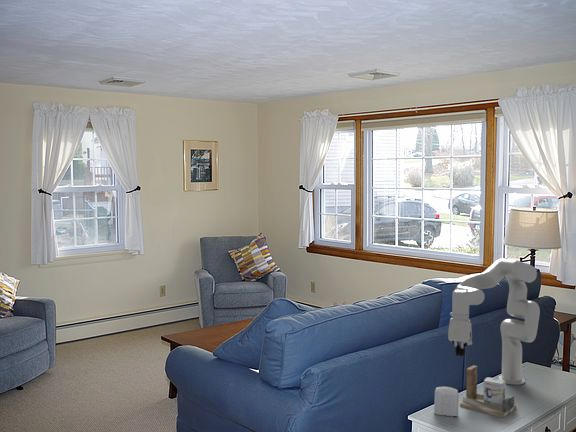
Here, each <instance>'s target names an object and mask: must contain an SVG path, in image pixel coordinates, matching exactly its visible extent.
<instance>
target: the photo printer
mask: <svg viewBox="0 0 576 432" xmlns="http://www.w3.org/2000/svg"><path fill="white" fill-rule="evenodd" d="M459 398H460V396H459V391H458V389H456V388H454V387H450V386H438V387H435V390H434V401H433V402H434V404H433V406H434V408H433V409H434V412H433V413H434V414H435V415H438V416H445V415H446V416H447V417H453V416H457V417H459ZM446 416H445V417H446Z"/></svg>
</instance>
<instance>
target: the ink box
mask: <svg viewBox="0 0 576 432" xmlns="http://www.w3.org/2000/svg"><path fill="white" fill-rule="evenodd" d="M483 394H484V402H487V403H491V404H495V405H499V406H502V407H503V401H504V400H505V399H506V384H505V381H504V380H501V379H498V378H495V377H488V376H487V377H485V378H484V380H483Z"/></svg>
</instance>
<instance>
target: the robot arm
mask: <svg viewBox="0 0 576 432" xmlns="http://www.w3.org/2000/svg"><path fill="white" fill-rule="evenodd" d="M537 275H538V272H537V269H536V267H534V266H533V265H531V264H529V263H526V262H523V261H521V260H516V259H508V258H499V259H496V260H495V261H494V262H493V263H491V264H490V266H488V267H487V268H486V269H485V270H484V271H483V272H481V273H478V274H476V275H472V276H470V277H468V278H467V277H466V278H465V279H463V280H462V281H461V282H460V283H459V284H458V285H456V287H455V289H454V290H453V291H452V300H451V301H452V304H451V305H452V311H451V312H449V316H451V318H450V319H449V323H448V324H449V325H448V332H447V338H448V339H447V340H448V341H450V342H451V343H452V344H453V346H454V347H455V356H457V357H458V356H459V357H464V356H465V352H466V351H465V350H466V347H467V346H472V345H473V341H472V340H473V333H472V332H473V331H472V322H471V320H470V306H479V305H480V304H482V303H483V302H484V301H485V297H486V296H485V293H484V291H483V289H484V290H485V289H486V290H487V289H490V288H494V287H496V286H497V285H498V284H500V282H501V281H502V280H503V279H504V278H505V279H506V281H507V283H508V286H509V287H508V288H509V290H508V296H507V304H506V312H507V313H506V314H508V316H511V317H515V318H518V319H513V318H506V319H504V320H502V322H501V323H500V326H499V327H500V329H499V330H500V335H501V344H502V345H501V375H499V376H498V378H497V379H501V380H504V381H505V385H510V386H511V385H512V386H513V385H514V386H519V385H520V386H521V385H523V384H524V383H526V380H525V378H524V377H522V375H523V373H524V370H523V368H522V367H523V345H522V343H521V342H525V343H532V342H534V341H535V340H536V337H537V333H538V330H539V329H538V327H539V322H540V321H539V320H540V314H541V310H540V306H539V304H538V302H536V301H534V300H528V299H527V297H528V287H527V284H526V283H529V284H530V283H533V282H534V281H535V280H536V279H537ZM519 319H524V321H522V320H519Z"/></svg>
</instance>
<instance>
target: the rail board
mask: <svg viewBox="0 0 576 432" xmlns="http://www.w3.org/2000/svg"><path fill="white" fill-rule="evenodd" d="M459 406H460V407H463V408H467V409H469V410H470V409H471V410H473V411H477V412H480V413H481V412H482V413H484V414H488V415H491V416H494V417H495V416H496V417H499V418H502V419H503V418H505V417H506V416H508V415H509V414H510V413H512V412H513V411H514V410H516V409H517V405H516V404H515V395H512V394H511V395H509V396H508V397H505V400H504V401H503V407H502V406H499V405H495V404H491V403H487V402H484V393H480V392H477V398H476V399H472V398H469V397H466V396H465V395H464V396H462V401H461V402H459Z"/></svg>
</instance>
